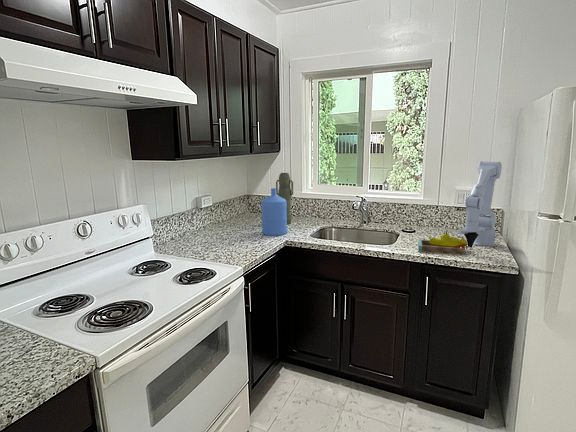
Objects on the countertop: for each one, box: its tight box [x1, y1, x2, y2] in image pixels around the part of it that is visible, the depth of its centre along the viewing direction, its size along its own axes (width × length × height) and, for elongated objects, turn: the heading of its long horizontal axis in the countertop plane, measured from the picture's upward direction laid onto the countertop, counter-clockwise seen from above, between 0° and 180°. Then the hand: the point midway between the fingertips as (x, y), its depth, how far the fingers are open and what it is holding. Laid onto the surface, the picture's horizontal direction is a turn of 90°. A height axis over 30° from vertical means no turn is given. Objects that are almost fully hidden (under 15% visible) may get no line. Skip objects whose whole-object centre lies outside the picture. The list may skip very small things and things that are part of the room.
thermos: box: [275, 172, 294, 226], centre depth 242 cm, size 9×12×35 cm
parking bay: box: [417, 239, 464, 256], centre depth 182 cm, size 20×12×3 cm, turn 71°
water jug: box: [260, 188, 288, 237], centre depth 218 cm, size 16×16×28 cm
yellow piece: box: [429, 229, 468, 252], centre depth 181 cm, size 6×18×10 cm, turn 68°
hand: (469, 247), depth 176 cm, fingers closed, pressing on yellow piece
